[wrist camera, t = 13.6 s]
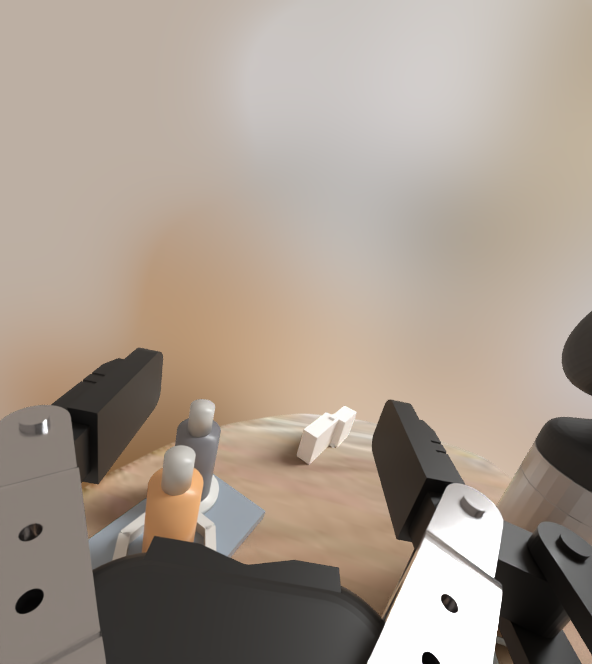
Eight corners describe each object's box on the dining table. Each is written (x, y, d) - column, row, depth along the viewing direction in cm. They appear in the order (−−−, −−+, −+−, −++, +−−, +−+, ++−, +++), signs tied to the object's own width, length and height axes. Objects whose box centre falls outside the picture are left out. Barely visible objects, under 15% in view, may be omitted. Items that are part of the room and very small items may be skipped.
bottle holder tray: (194, 466, 42) (207, 380, 37) (263, 517, 37) (287, 426, 33) (56, 568, 28) (51, 451, 24) (139, 666, 24) (153, 544, 19)
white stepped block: (294, 478, 45) (303, 445, 43) (275, 425, 54) (282, 397, 53) (384, 472, 50) (396, 443, 48) (352, 425, 60) (361, 399, 58)
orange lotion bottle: (169, 525, 33) (181, 430, 29) (201, 552, 31) (219, 455, 27) (130, 560, 29) (137, 456, 25) (163, 592, 27) (177, 487, 23)
